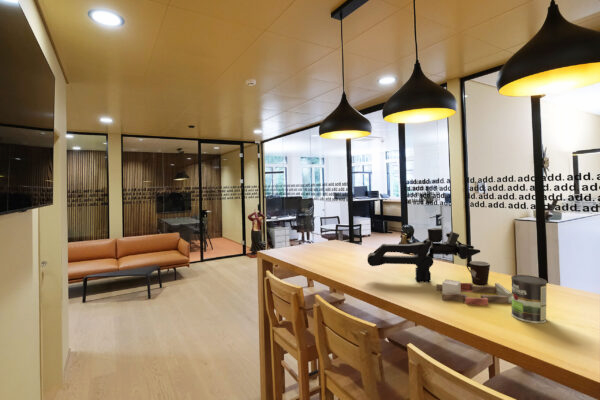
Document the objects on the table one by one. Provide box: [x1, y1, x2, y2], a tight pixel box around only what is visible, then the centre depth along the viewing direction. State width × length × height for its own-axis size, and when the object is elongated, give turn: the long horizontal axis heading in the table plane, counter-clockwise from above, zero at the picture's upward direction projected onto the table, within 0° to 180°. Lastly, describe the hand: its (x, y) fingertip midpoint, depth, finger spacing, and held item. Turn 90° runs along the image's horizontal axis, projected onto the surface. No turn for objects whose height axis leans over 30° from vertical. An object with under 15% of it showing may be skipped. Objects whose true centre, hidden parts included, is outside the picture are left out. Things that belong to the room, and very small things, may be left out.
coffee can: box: [510, 274, 548, 324], centre depth 110 cm, size 10×10×14 cm
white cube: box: [441, 278, 462, 294], centre depth 135 cm, size 6×6×6 cm
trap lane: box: [435, 282, 512, 306], centre depth 133 cm, size 26×20×4 cm
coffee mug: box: [466, 260, 491, 286], centre depth 150 cm, size 12×9×10 cm
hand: (476, 249), depth 150 cm, fingers open, 9 cm apart
